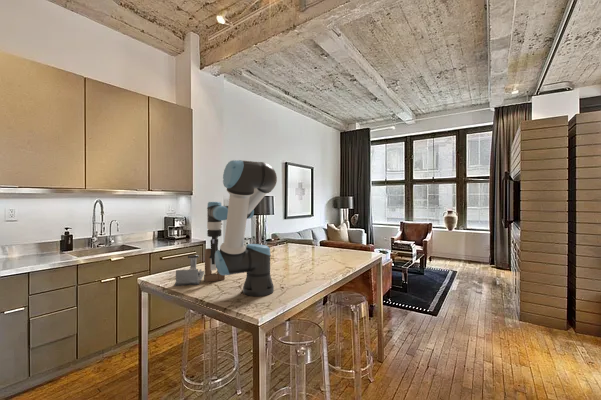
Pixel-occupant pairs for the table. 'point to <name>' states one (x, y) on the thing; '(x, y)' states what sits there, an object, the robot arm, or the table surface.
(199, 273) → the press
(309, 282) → the table surface
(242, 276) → the table surface
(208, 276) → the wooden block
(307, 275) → the table surface
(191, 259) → the ram
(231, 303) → the table surface
